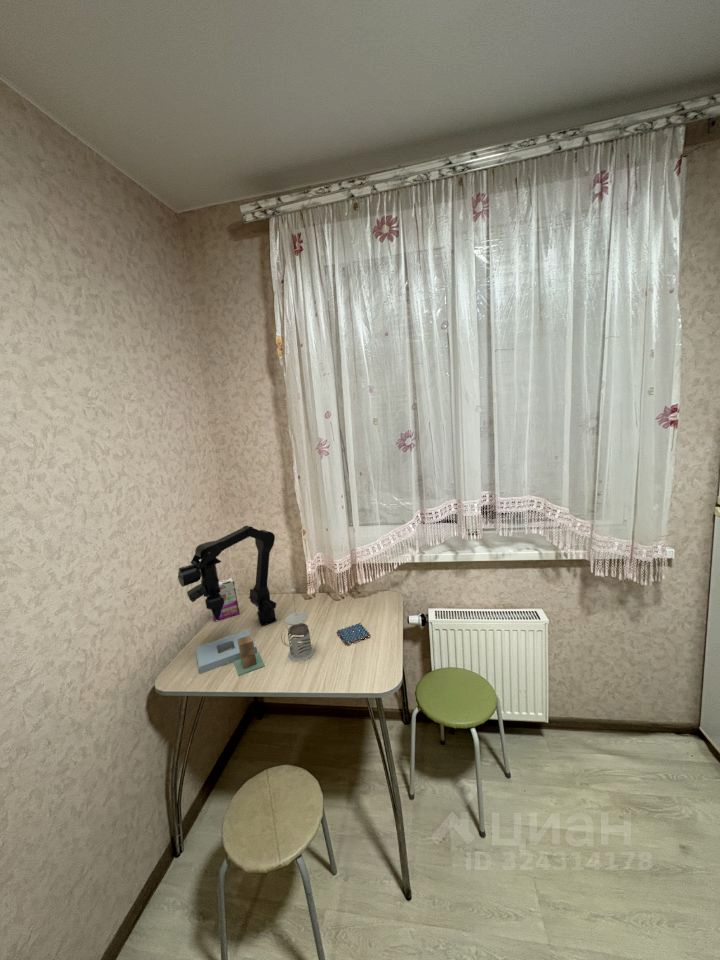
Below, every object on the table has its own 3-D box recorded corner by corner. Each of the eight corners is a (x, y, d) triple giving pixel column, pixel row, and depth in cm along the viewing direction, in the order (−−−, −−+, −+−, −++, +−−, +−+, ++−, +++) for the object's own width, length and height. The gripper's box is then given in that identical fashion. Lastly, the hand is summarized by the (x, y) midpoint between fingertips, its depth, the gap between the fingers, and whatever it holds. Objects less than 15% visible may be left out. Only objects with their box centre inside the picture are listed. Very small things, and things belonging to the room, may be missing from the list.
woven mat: (335, 634, 149) (335, 629, 149) (360, 626, 153) (359, 621, 153) (345, 648, 140) (345, 643, 139) (371, 639, 144) (371, 634, 143)
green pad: (259, 653, 141) (258, 652, 141) (264, 666, 133) (264, 665, 133) (234, 662, 137) (233, 661, 137) (238, 676, 129) (238, 675, 129)
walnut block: (253, 657, 138) (250, 634, 136) (256, 664, 134) (253, 640, 132) (241, 662, 136) (237, 639, 134) (243, 668, 132) (239, 645, 130)
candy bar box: (237, 609, 176) (232, 576, 173) (239, 614, 171) (234, 580, 169) (212, 617, 171) (206, 583, 168) (213, 622, 166) (207, 587, 164)
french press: (320, 651, 138) (312, 587, 134) (294, 667, 130) (284, 600, 126) (304, 641, 145) (295, 580, 141) (278, 657, 137) (268, 592, 133)
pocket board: (249, 635, 153) (249, 629, 153) (257, 652, 141) (256, 646, 141) (196, 653, 145) (195, 647, 144) (199, 673, 132) (198, 667, 132)
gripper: (185, 574, 149) (192, 610, 152) (188, 591, 133) (195, 632, 136) (215, 567, 154) (221, 602, 157) (221, 582, 138) (227, 622, 140)
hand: (216, 614), depth 147 cm, fingers open, 9 cm apart
